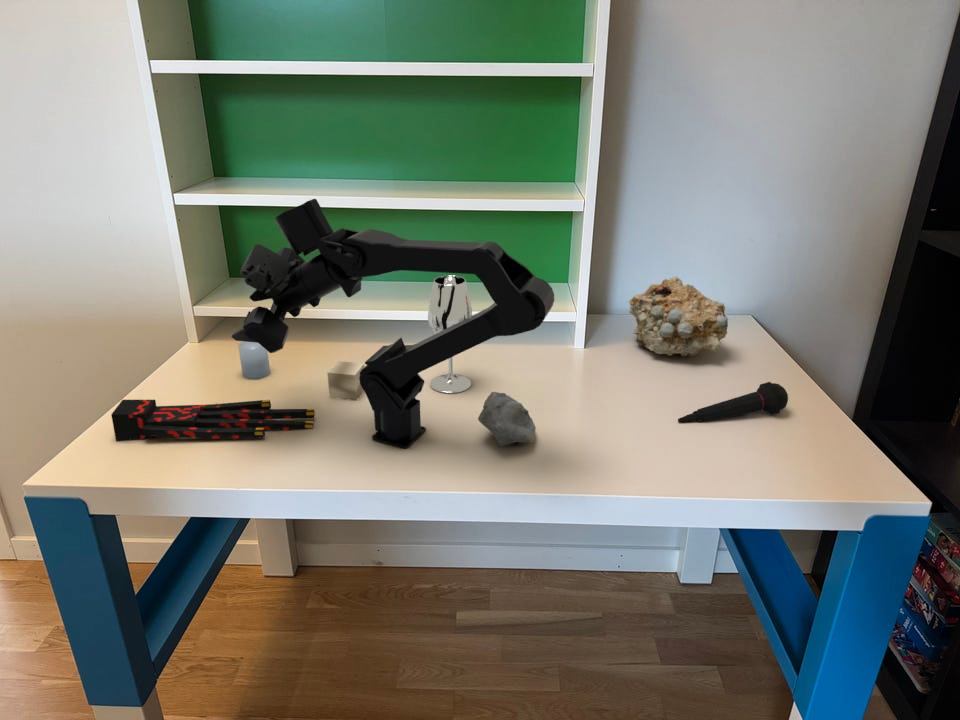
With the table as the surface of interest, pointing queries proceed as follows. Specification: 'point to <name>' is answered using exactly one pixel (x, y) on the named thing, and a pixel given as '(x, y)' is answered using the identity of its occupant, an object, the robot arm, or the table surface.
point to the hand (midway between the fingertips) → (242, 317)
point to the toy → (204, 420)
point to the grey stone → (507, 419)
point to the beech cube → (345, 380)
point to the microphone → (744, 404)
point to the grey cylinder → (254, 360)
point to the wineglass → (449, 323)
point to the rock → (677, 319)
